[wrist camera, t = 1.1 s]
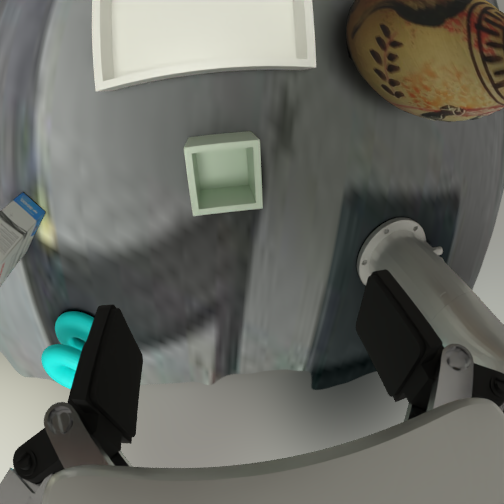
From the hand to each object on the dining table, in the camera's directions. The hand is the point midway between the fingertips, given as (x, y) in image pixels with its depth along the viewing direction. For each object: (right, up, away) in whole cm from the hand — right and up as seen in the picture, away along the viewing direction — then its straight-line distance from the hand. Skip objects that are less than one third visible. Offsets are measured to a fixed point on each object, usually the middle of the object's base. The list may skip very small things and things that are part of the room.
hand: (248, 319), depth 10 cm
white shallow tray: (-5, +27, +9) cm, 29 cm away
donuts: (-28, -10, +29) cm, 42 cm away
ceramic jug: (+16, +27, +14) cm, 34 cm away
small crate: (-3, +12, +19) cm, 23 cm away
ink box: (-31, +6, +19) cm, 36 cm away
